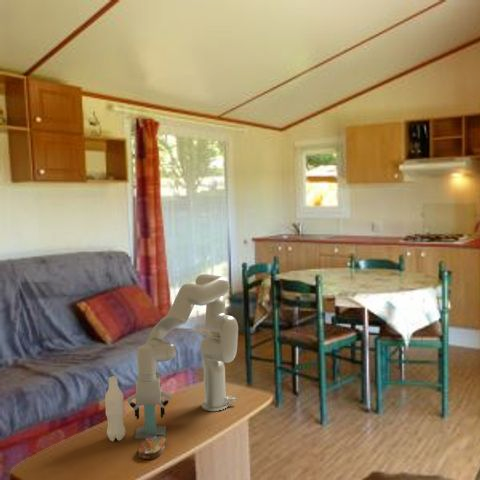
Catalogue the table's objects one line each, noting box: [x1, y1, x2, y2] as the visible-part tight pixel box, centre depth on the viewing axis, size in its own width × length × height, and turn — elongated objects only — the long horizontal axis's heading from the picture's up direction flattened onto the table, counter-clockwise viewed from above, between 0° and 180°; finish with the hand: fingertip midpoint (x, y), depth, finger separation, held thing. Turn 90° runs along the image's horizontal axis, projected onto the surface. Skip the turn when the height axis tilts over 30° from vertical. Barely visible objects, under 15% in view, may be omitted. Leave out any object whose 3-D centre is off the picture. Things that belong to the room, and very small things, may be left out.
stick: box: [143, 404, 157, 434], centre depth 213 cm, size 4×4×14 cm
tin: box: [138, 434, 168, 460], centre depth 200 cm, size 15×3×8 cm
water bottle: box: [104, 375, 126, 442], centre depth 209 cm, size 7×7×25 cm
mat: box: [134, 425, 167, 440], centre depth 214 cm, size 12×9×1 cm
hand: (150, 417), depth 213 cm, fingers open, 9 cm apart
